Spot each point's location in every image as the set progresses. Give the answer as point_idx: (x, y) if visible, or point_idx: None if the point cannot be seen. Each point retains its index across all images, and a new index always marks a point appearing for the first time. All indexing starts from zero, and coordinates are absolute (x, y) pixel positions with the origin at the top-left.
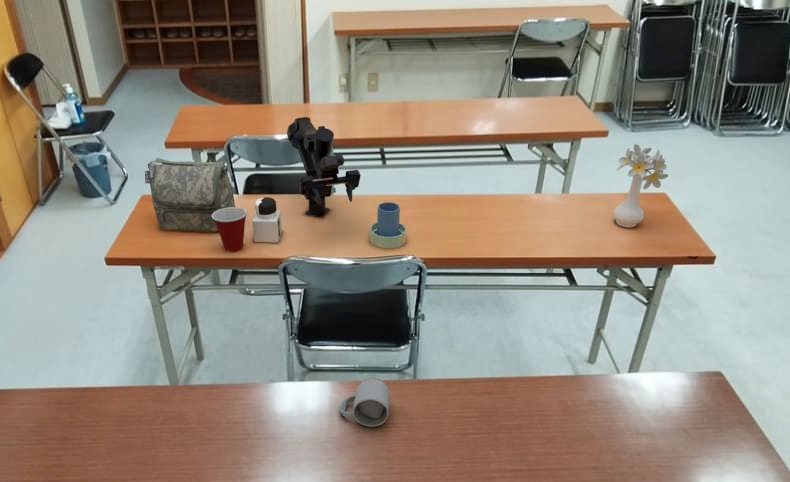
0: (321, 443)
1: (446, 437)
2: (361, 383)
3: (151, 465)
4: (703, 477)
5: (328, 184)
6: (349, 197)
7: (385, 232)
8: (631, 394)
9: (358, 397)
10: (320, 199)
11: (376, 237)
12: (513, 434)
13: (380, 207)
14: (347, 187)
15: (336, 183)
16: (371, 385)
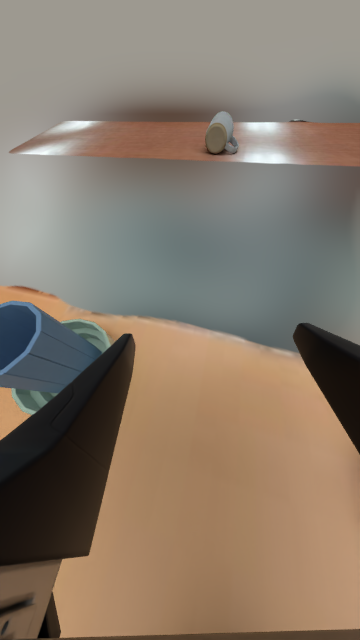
0: (250, 142)
1: (178, 141)
2: (226, 126)
3: (355, 138)
4: (79, 128)
5: (322, 632)
6: (127, 358)
7: (81, 337)
8: (60, 150)
9: (230, 119)
10: (330, 337)
11: (109, 338)
12: (142, 140)
13: (19, 368)
14: (78, 479)
15: (180, 636)
16: (220, 118)
